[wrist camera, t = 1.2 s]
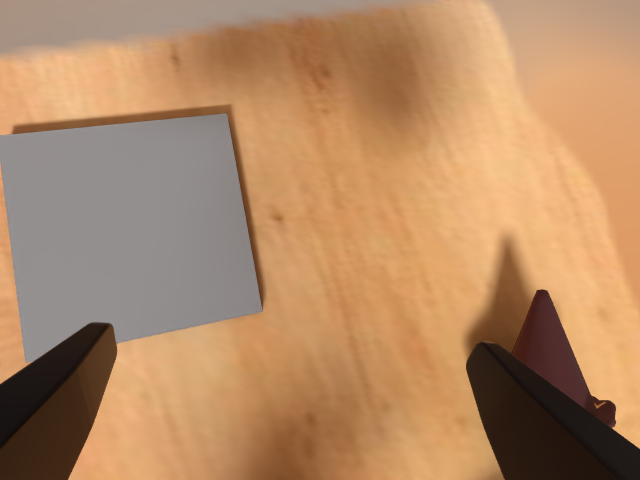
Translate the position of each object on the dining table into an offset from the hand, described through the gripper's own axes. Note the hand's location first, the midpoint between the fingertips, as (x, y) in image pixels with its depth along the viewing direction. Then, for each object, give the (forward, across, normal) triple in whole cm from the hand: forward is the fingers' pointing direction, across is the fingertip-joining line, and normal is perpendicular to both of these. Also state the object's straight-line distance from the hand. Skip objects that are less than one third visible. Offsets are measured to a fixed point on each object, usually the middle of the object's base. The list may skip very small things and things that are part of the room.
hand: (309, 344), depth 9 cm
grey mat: (+14, +9, +6) cm, 17 cm away
